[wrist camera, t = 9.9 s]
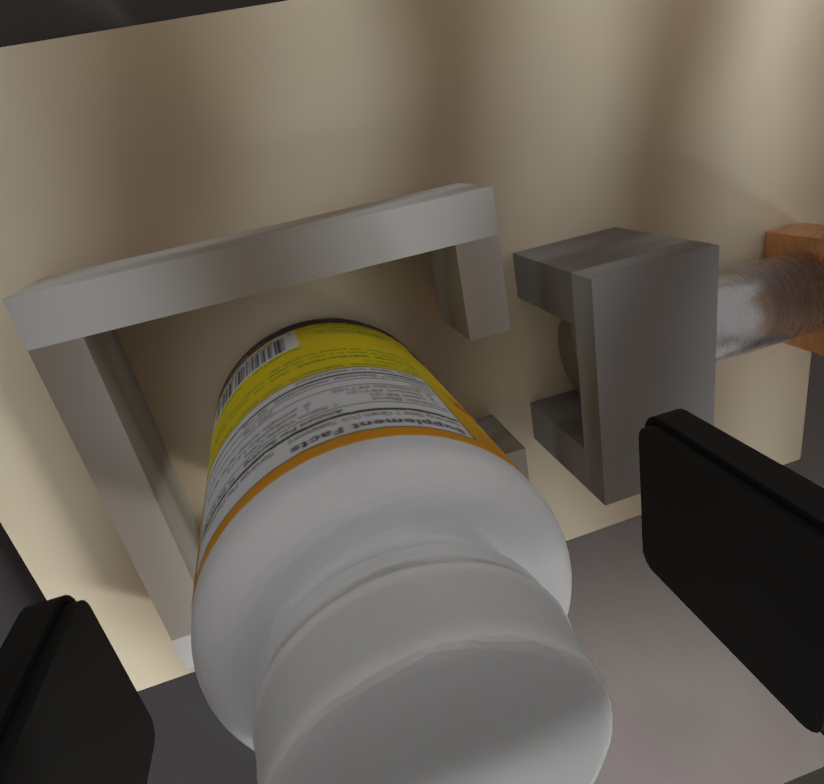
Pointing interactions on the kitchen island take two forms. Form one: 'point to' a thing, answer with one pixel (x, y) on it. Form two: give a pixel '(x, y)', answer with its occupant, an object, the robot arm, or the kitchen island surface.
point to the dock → (382, 247)
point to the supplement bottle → (382, 580)
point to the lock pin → (758, 300)
